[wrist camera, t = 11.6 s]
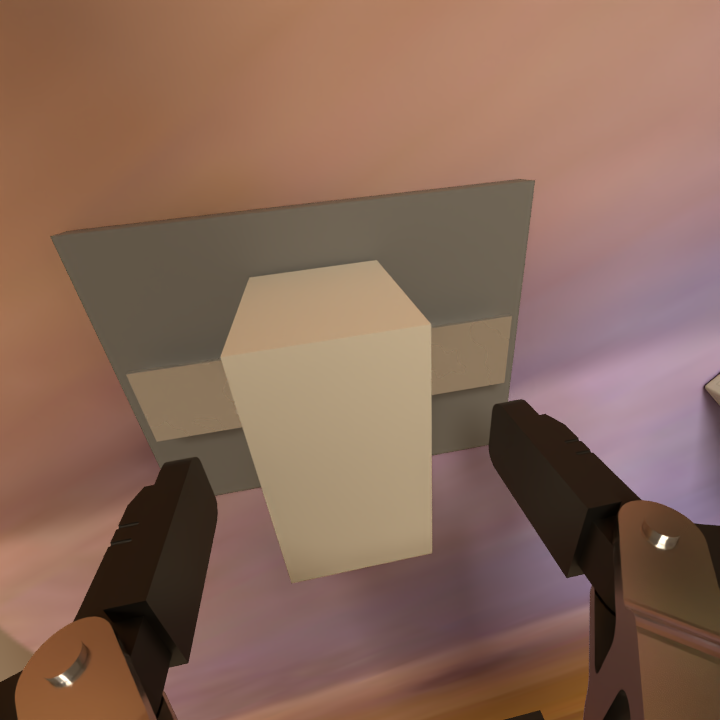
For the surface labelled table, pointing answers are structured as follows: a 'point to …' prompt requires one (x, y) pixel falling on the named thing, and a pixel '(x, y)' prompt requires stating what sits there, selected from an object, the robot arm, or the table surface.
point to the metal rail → (218, 410)
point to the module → (336, 414)
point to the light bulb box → (714, 388)
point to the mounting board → (294, 253)
